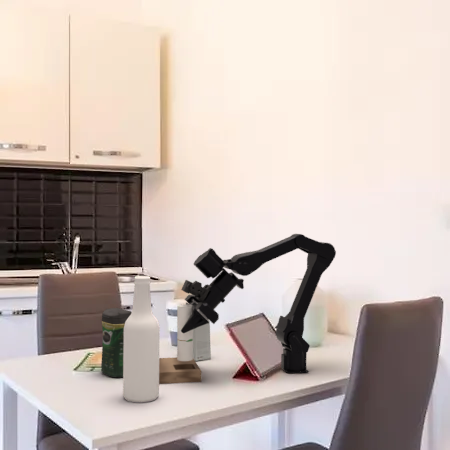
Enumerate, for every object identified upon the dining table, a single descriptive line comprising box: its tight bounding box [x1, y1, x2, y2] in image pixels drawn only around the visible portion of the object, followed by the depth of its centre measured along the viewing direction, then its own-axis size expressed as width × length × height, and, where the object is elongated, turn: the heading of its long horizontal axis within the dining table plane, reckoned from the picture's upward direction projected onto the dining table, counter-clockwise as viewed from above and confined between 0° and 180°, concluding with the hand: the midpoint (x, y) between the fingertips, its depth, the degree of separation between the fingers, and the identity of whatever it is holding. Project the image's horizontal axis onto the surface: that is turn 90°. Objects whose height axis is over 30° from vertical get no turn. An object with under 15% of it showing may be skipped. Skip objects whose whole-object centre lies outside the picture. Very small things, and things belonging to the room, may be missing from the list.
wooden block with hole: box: [159, 356, 202, 385], centre depth 166 cm, size 14×16×3 cm
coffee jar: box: [100, 307, 132, 378], centre depth 166 cm, size 10×8×19 cm
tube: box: [176, 303, 193, 361], centre depth 163 cm, size 4×4×15 cm
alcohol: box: [122, 275, 161, 404], centre depth 145 cm, size 9×9×30 cm
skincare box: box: [193, 319, 212, 362], centre depth 186 cm, size 8×6×15 cm
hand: (180, 330), depth 163 cm, fingers closed on tube, 4 cm apart
